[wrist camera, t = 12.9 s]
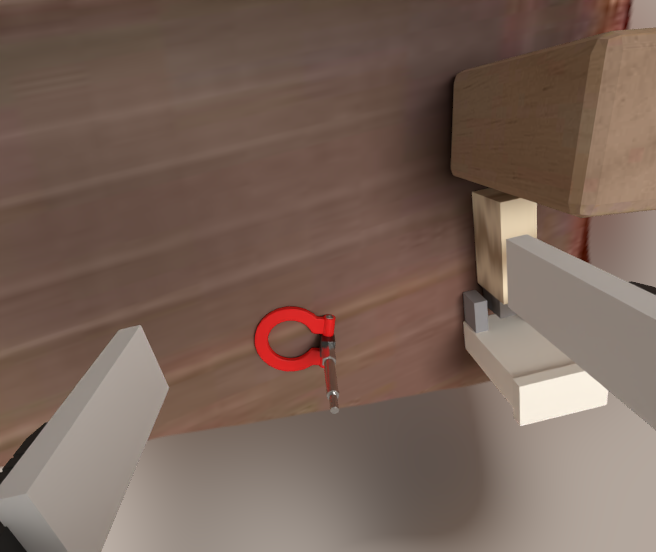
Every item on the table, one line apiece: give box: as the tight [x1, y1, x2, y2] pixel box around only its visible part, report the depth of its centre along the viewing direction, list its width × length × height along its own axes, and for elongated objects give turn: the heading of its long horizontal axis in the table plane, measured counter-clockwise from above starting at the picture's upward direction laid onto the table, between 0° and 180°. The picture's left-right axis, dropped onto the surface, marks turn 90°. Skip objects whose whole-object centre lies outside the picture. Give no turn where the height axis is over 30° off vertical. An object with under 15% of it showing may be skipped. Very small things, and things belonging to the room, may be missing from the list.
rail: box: [472, 188, 537, 319], centre depth 43 cm, size 14×4×6 cm, turn 12°
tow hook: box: [255, 307, 339, 414], centre depth 41 cm, size 8×13×9 cm
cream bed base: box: [463, 290, 608, 426], centre depth 43 cm, size 8×9×13 cm
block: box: [451, 28, 656, 218], centre depth 31 cm, size 10×10×20 cm
